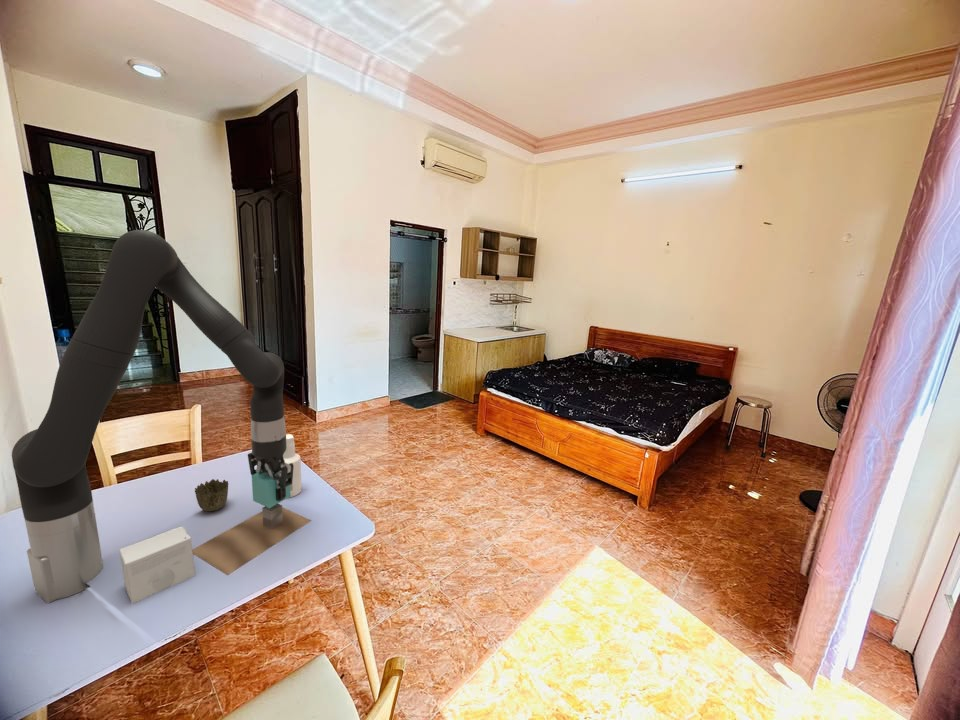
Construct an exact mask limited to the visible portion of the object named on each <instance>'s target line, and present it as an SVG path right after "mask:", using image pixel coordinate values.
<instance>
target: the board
mask: <svg viewBox="0 0 960 720" xmlns="http://www.w3.org/2000/svg"><path fill="white" fill-rule="evenodd" d="M261 509H262V511H260V512H257V514H255V515H252V516H251V517H249V518H248V519H245V520H244V521H242V522H240V523H238V524H236V525H235V526H233V527H231V528H229V529H227V530H226V531H223V532H222V533H220V534H218V535H216V536H214V537H213V538H210V539H209V540H207V541H206V542H203V543H202V544H200V545H198V546H196V547H195V548H192V552H193V556H196V557H197V558H199V559H201V560H202V561H204V562H205V563H207V564H209V565H210V566H212V567H214V568H215V569H216V570H219V571H220V572H221V573H223V574H225V575H227V576H229V575H230V574H232V573H234V571H237V570H238V569H240V568H241V567H243V566H245V565H246V564H248V563H249V562H251V561H252V560H254V559H255V558H257V557H258V556H260V555H261V554H262V553H264V552H266V551H267V550H269V549H270V548H272V547H273V546H275V545H277V544H278V543H279V542H281V541H283V540H284V539H285V538H287V537H289V536H290V535H292V534H294V533H295V532H296V531H298V530H299V529H301V528H302V527H304V526H306V525H307V524H309V523H311V521H312V519H309V518H307V517H305V516H303V515H301V514H298V513H296V512H295V511H292V510H290V509H287V508H286V507H284V506H283V505H282V504H280V503H278V504H276V505H274V506H273V507H271V508H268V507H266V506H263V507H262V508H261Z"/></svg>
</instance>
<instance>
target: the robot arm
mask: <svg viewBox="0 0 960 720" xmlns="http://www.w3.org/2000/svg"><path fill="white" fill-rule="evenodd" d="M155 289H157V290H159V291H160V292H162V293H163V294H164V295H165V296H167V297H168V298H169V299H170V300H172V302H173V303H174V304H176V305H177V306H178V308H180V309H181V311H183V313H185V315H186V316H187V317H188V318H189V319H190V320H191V322H192V323H193V324H194V325H195V326H196V327H197V329H198V330H199V331H201V332H202V334H203V335H204V336H205V337H206V338H207V339H208V340H209V341H211V343H213V345H214V346H216V347H217V348H218V350H220V351H221V352H222V353H224V354H225V355H226V356H227V357H228V359H229V360H230V362H231V364H232V365H233V366H234V367H235V369H236V371H237V372H238V373H239V374H240V375H241V376H242V377H243V378H244V380H245V381H247V382H248V383H249V384H250V385H252V387H253V392H252V396H251V398H250V403H249V404H250V406H249V407H250V421H251V422H250V439H251V440H250V443H251V452H249V453H248V454H247V460H248V465H249V466H248V467H249V472H250V475H251V476H252V475H254V474H256V473H257V474H260V473H262V472H265V473H268V474H269V476H270V478H271V480H275V486H276V500H277V501H281V500H283V499H284V498H285V497H286V487H287V486H289V485H291V484H292V480H293V467H294V466H293V464H292V463H290V464H287V463H285V460H284V458H283V454H284V452H285V451H286V448H287V446H286V435H287V430H286V429H287V428H286V425H287V424H286V419H285V408H284V407H285V406H284V394H283V393H284V384H285V365H284V362H283V360H282V358H281V357H280V356H279V355H278V354H276V353H274V352H272V351H271V352H269V351H267V352H263V350H261V348H260V347H259V346H258V345H257V343H256V339H255V336H254V335H253V334H252V332H250V331H249V330H248V329H247V327H246V326H245V325H243V324H242V323H241V322H240V321H239V320H238V319H237V317H235V315H233V314H232V313H231V312H230V311H229V310H228V309H227V308H226V307H225V306H223V305H222V303H220V302H219V301H218V300H217V299H215V298H214V297H213V296H212V295H211V294H210V293H209V292H208V291H206V289H205V288H204V287H203V286H202V285H201V284H200V283H199V282H198V281H197V280H196V279H195V277H194V276H193V275H192V274H191V273H190V271H189V270H188V269H187V268H186V265H185V264H184V263H183V262H182V260H181V259H180V257H179V256H178V253H177V252H176V250H175V249H174V248H173V246H172V245H171V244H170V243H169V242H168V241H167V240H166V239H164V238H163V237H162V236H160V235H159V234H157V233H155V232H153V231H150V230H146V229H134V230H130V231H127V232H125V233H123V234H122V235H120V236H119V237H118V238H117V240H116V241H115V242H114V244H113V247H112V249H111V253H110V255H109V259H108V262H107V265H106V269H105V272H104V275H103V277H102V280H101V283H100V286H99V288H98V290H97V292H96V294H95V296H94V297H93V299H92V300H91V302H90V304H89V306H88V308H87V310H85V313H84V314H83V317H82V318H81V320H80V322H79V324H78V326H77V327H76V329H75V332H74V333H73V336H72V337H71V338H70V341H69V342H68V345H67V347H66V349H65V351H64V353H63V355H62V358H61V361H60V363H59V366H58V369H57V373H56V376H55V381H54V385H53V389H52V394H51V399H50V403H49V407H48V409H47V411H46V413H45V415H44V418H42V421H41V423H40V424H39V426H38V427H37V428H36V429H34V430H31V431H29V432H27V433H26V434H24V435H23V436H22V437H20V438H19V439H18V440H17V441H16V443H15V444H14V446H13V448H12V451H11V459H12V467H13V470H14V473H15V474H14V475H15V478H16V484H17V488H18V495H19V499H20V505H21V509H22V510H21V511H22V513H23V518H24V523H25V528H26V533H27V538H28V543H29V547H30V548H28V549H27V550H26V553H27V558H28V564H29V568H30V573H31V577H32V578H31V579H32V582H33V583H32V584H33V588H34V591H35V592H36V593H37V594H38V595H39V596H40V597H41V599H43V600H44V601H45V602H46V603H48V604H49V603H52V602H54V601H56V600H59V599H64V598H68V597H70V596H73V595H75V594H78V593H80V592H82V591H85V590H86V589H89V588H90V587H91V586H90V584H88V583H89V582H90V581H92V580H93V579H94V578H96V577H97V576H98V575H100V573H101V572H102V570H103V568H104V560H103V556H102V550H101V549H102V548H101V542H100V537H99V529H98V525H97V524H98V523H97V517H96V513H95V507H94V500H93V499H94V498H93V492H92V491H93V490H92V487H91V484H90V480H89V475H88V472H87V471H88V470H87V466H86V463H87V460H88V456H89V454H90V450H91V447H92V445H93V440H94V437H95V435H96V432H97V429H98V426H99V423H100V420H101V418H102V416H103V414H104V412H105V410H106V408H107V406H108V405H109V403H110V401H111V400H112V398H113V397H114V394H115V392H116V391H117V389H118V386H119V385H120V382H121V380H122V379H123V377H124V375H125V374H126V372H127V370H128V367H129V365H130V363H131V361H132V360H133V359H132V358H133V357H134V354H135V352H136V349H137V348H138V345H139V341H140V337H141V334H142V333H141V332H142V326H143V321H144V320H143V319H144V314H145V310H146V307H147V304H148V302H149V299H150V298H151V296H152V294H153V292H154V291H155ZM255 466H256V468H255ZM279 471H280V474H278V475H276V476H275V475H274V474H276V473H278V472H279ZM280 477H281V482H280V483H279V480H278V478H280ZM287 479H288V480H287ZM283 501H284V500H283ZM281 502H282V501H281Z"/></svg>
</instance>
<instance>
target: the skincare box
mask: <svg viewBox="0 0 960 720" xmlns="http://www.w3.org/2000/svg"><path fill="white" fill-rule="evenodd" d="M192 545H193V544H192V537H191V536H190V534H189V533H188V531H187V530H186V528H185V526H183V525H181V526H179V527H176V528H174V529H169V530H168V531H165V532H162V533H160V534H157V535H154V536H152V537H149V538H147V539H143V540H140V541H139V542H136V543H133V544H130V545H128V546H125V547H122V548H119V550H118V551H119V557H120V563H121V567H122V568H121V569H122V570H121V571H122V574H123V575H122V576H123V581H124V588H125V592H126V594H127V595H128V598H129V601H130V602H131V604H134V603H137V602H139V601H141V600H143V599H146V598H148V597H150V596H153V595H155V594H157V593H159V592H161V591H164V590H166V589H169V588H171V587H172V586H175V585H177V584H179V583H181V582H183V581H186V580H188V579H190V578H192V577H194V576H196V571H195V562H194V554H193V552H192V550H193V546H192Z"/></svg>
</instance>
